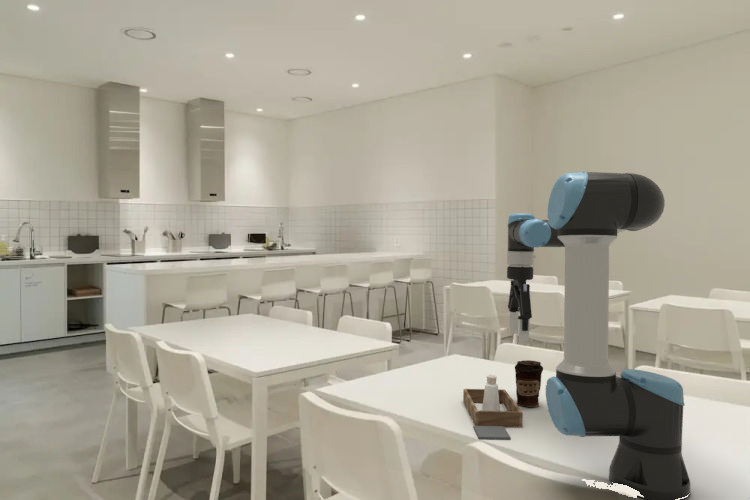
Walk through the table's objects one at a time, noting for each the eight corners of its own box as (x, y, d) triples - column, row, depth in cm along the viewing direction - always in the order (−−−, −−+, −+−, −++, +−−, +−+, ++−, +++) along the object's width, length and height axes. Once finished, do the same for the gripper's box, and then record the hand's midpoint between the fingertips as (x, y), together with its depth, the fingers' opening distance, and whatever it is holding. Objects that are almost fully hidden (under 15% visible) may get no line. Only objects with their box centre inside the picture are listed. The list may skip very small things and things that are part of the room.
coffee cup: (543, 410, 164) (544, 366, 164) (514, 408, 166) (515, 364, 166) (540, 401, 173) (541, 359, 172) (513, 399, 175) (514, 358, 174)
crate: (522, 427, 150) (522, 412, 150) (475, 426, 150) (475, 411, 150) (504, 402, 171) (504, 389, 171) (463, 401, 171) (463, 388, 171)
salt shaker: (486, 409, 164) (487, 372, 164) (503, 413, 161) (504, 375, 161) (477, 413, 160) (478, 375, 160) (495, 418, 157) (495, 379, 156)
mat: (510, 439, 141) (510, 437, 141) (478, 439, 141) (478, 436, 141) (503, 428, 149) (503, 426, 149) (473, 427, 149) (473, 425, 149)
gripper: (544, 268, 153) (542, 346, 153) (523, 263, 177) (521, 330, 178) (516, 268, 153) (514, 345, 154) (499, 263, 178) (497, 329, 178)
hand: (518, 337), depth 166 cm, fingers open, 13 cm apart
